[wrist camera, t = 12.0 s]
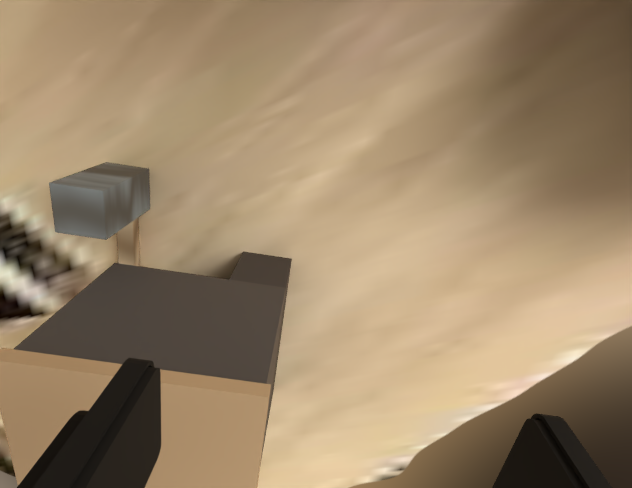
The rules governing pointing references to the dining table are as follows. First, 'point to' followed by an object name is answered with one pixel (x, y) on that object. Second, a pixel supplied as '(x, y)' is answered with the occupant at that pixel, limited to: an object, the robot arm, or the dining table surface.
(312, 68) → the dining table surface
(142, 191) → the grey block with handle
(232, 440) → the cabinet
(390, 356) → the dining table surface
